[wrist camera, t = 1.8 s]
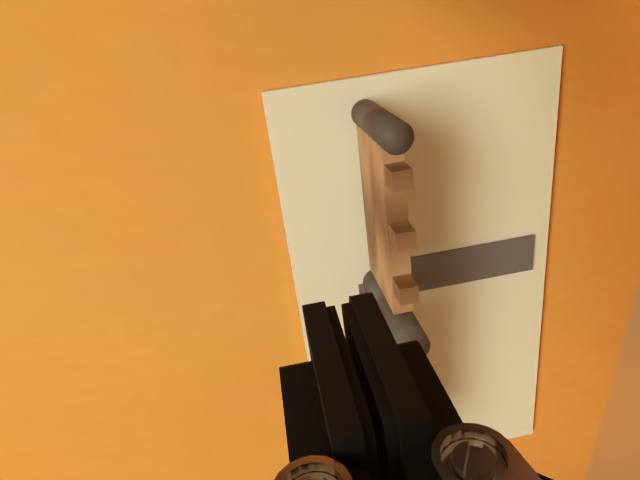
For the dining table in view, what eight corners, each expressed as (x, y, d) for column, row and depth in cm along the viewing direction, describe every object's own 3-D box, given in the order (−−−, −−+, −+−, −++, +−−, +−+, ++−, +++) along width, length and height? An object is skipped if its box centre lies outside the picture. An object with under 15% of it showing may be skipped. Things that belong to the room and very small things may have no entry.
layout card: (529, 429, 38) (533, 435, 38) (327, 474, 37) (328, 481, 36) (558, 45, 26) (565, 45, 26) (260, 91, 25) (261, 93, 24)
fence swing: (389, 264, 29) (425, 323, 24) (366, 268, 29) (397, 329, 23) (376, 97, 25) (416, 120, 19) (349, 101, 25) (382, 126, 19)
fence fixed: (399, 400, 35) (435, 488, 28) (374, 405, 35) (405, 494, 28) (388, 262, 30) (429, 329, 24) (360, 267, 30) (393, 336, 24)
